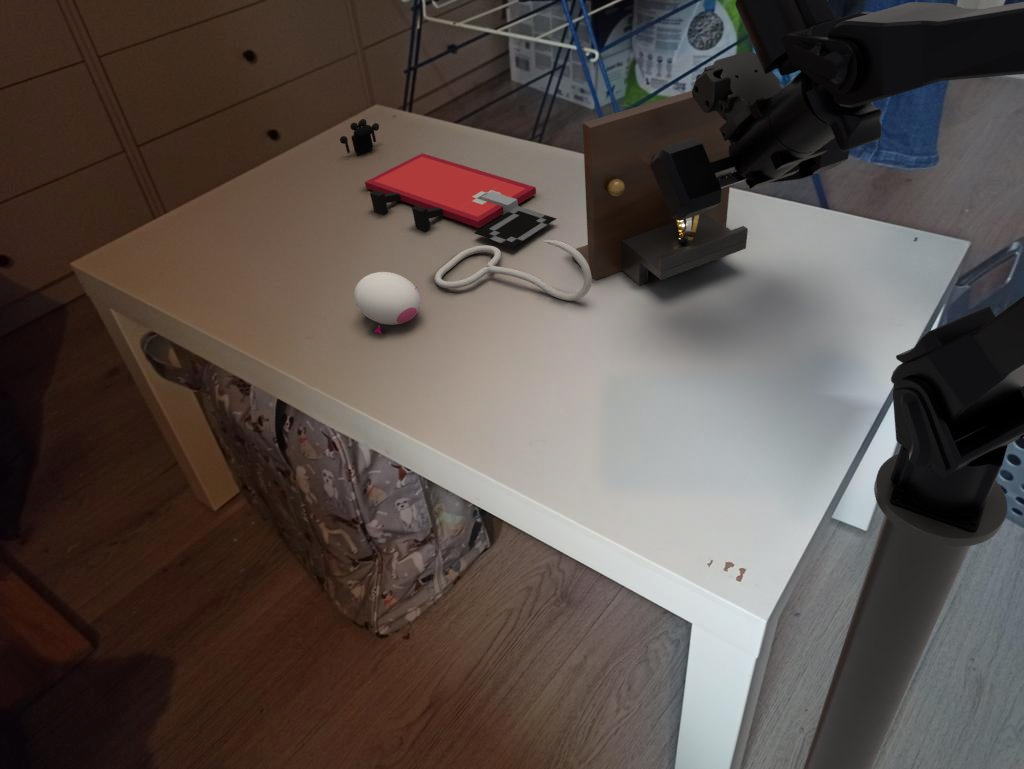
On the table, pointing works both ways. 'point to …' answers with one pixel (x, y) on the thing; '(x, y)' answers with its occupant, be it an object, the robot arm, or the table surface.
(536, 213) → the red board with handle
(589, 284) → the white cord
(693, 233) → the ring
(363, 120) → the wireless earbuds
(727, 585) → the table surface
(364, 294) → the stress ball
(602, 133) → the door rack
